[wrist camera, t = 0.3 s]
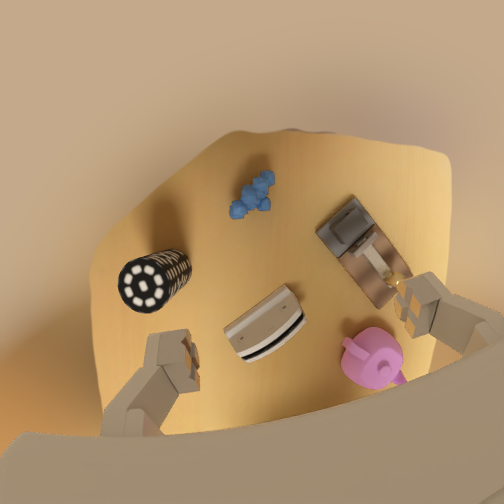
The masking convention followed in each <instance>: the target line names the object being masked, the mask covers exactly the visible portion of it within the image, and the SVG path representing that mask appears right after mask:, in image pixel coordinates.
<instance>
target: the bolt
mask: <svg viewBox="0 0 504 504" xmlns="http://www.w3.org/2000/svg"><path fill="white" fill-rule="evenodd" d="M366 239H367V238H366V237H362V238H361V239H360V240H359V241H358V242H357V243H356V244H355V246H356V248H358V247H359V246H360V245H361V244H362V243H363V242H364V241H365V240H366ZM362 255H363V256H364V258H365V259H366V260H367V262H368V263H369V264H370V265H371V267H372V268H373V269H374V271H375V272H376V273H377V275H378V276H379V277H380V279H381V280H382V281H383V283H384V284H385V285H386V287H388V288H391V287H395V288H397V284H398V282H399V281H401V280H404V279H406V276H405V275H404V274H401V273H398V272H394V271H391V270H390V269H389V267H388V266H387V264H386V263H385V262H384V260H383V259H382V258H381V256H380V255H379V254H378V252H377V251H376V250H375V249H374V247H373V246H372V245H370V246H369V247H368V248H367V249H366V250H365V251H364V252H363V253H362Z"/></svg>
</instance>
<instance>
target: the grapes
mask: <svg viewBox="0 0 504 504" xmlns="http://www.w3.org/2000/svg"><path fill="white" fill-rule="evenodd" d="M274 184H275V175H274V172H272V171H270V170H266V171H261V172H260V177H255V178H253V185H252V184H250V185H243V188H242V191H241V198H240V200H236V201H232V205H231V206H230V209H229V214H230V217H231V218H232V219H242V218H244V215H245V214H248V210H254V208H256V207H257V209H258V210H260V211H268V210H270V207H271V202H270V198H268V197H266V195H267V194H268V187H269V186H272V185H274Z"/></svg>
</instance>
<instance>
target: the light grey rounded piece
mask: <svg viewBox="0 0 504 504" xmlns="http://www.w3.org/2000/svg"><path fill="white" fill-rule="evenodd" d="M306 321H307V319H306V316H305V314H304V312H303V309H302V307H301V305H300V303H299V301H298V299H297V298H296V297H295V295H294V293H293V292H292V291H291V290H289V289H288V287H287V286H286V285H285V284H284V285H283V286H281V287H280V288H279V289H277V290H276V291H275V292H273V293H272V294H271V295H269V296H268V297H267V298H265V299H264V300H262V301H261V302H260V303H258V304H257V305H256V306H254V307H253V308H252V309H250V310H249V311H248V312H246V313H245V314H243V315H242V316H241V317H239V318H238V319H237V320H235V321H234V322H232V323H231V324H230V325H228V326H227V327H226V328H224V333H225V334H226V336H227V338H228V339H229V341H230V343H231V344H232V346H233V348H234V350H235V351H236V353H237V355H238V356H239V357H241V358H242V360H244V361H245V362H247V363H250V362H253V361H256V360H258V359H260V358H262V357H264V356H266V355H268V354H270V353H272V352H273V351H275V350H276V349H278V348H279V347H281V346H282V345H283V344H285V343H286V342H287V341H288V340H289V339H291V338H292V337H293V336H294V335H295V334H296V333H297V332H298V331H299V330H300V329H301V328H302V326H303V325H304V324H305V323H306Z"/></svg>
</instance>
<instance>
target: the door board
mask: <svg viewBox="0 0 504 504" xmlns="http://www.w3.org/2000/svg"><path fill="white" fill-rule="evenodd" d="M374 223H375V222H374V221H373V219H372V218H371V217H370V216H369V214H368V213H367V212H366V210H365V209H364V208H363V207H362V205H361V204H360V203H359V202H358V200H357V199H356V198H353V199H351V200H350V201H349V202H348V203H347V204H346V205H345V206H344V207H343V208H341V209H340V210H339V211H338V212H337V213H336V214H335V215H334V216H333V217H332V218H331V219H329V220H328V221H327V222H326V223H325V224H324V225H323V226H322V227H321V228H320V229H319V230H317V231H316V232H315V233H316V234H317V235H318V237H319V238H320V239H321V240H322V241H323V243H324V244H325V245H326V246H327V247H328V249H329V250H330V251H331V252H332V253H333V255H334V256H335V257H337V259H338V261H339V262H340V263H341V264H342V266H343V267H344V268H345V269H346V270H347V272H348V273H349V274H350V275H351V277H352V278H353V279H354V280H355V282H356V283H357V284H358V285H359V287H360V288H361V289H362V290H363V292H364V293H365V294H366V295H367V297H368V298H369V299H370V301H371V302H372V303H373V304H374V306H375V307H376V308H377V309H379V310H380V309H381V308H382V307H383V306H384V305H385V304H386V303H387V302H388V301H389V300H390V299H391V298H392V297H393V296H394V295H395V294H396V293H397V292H398V290H397V288H395V287H391V288H388V287H386V285H385V284H384V283H383V281H382V280H381V279H380V277H379V276H378V275H377V273H376V272H375V271H374V269H373V268H372V267H371V265H370V264H369V263H368V262H367V260H366V259H365V258H364V256H363V255H362V253H363V252H364V251H365V250H366V249H367V248H368V247H369V246H370V245H372V246H373V247H374V249H375V250H376V251H377V252H378V254H379V255H380V256H381V258H382V259H383V260H384V262H385V263H386V264H387V266H388V267H389V269H390V270H391V271H394V272H398V273H401V274H404V275H405V276H406V279H407V278H411V277H412V276H413V274H412V273H411V271H410V270H409V269H408V267H407V266H406V264H405V263H404V261H403V260H402V259H401V257H400V256H399V254H398V253H397V252H396V250H395V249H394V247H393V246H392V245H391V243H390V242H389V241H388V239H387V238H386V237H385V235H384V234H383V233H382V231H381V230H380V229H379V227H378V226H377V225H376V224H374ZM362 237H366V238H367V239H366V240H365V241H364V242H363V243H362V244H361V245H360V246H359V247H358V248H356V246H355V244H356V243H357V242H358V241H359V240H360V239H361V238H362Z"/></svg>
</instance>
